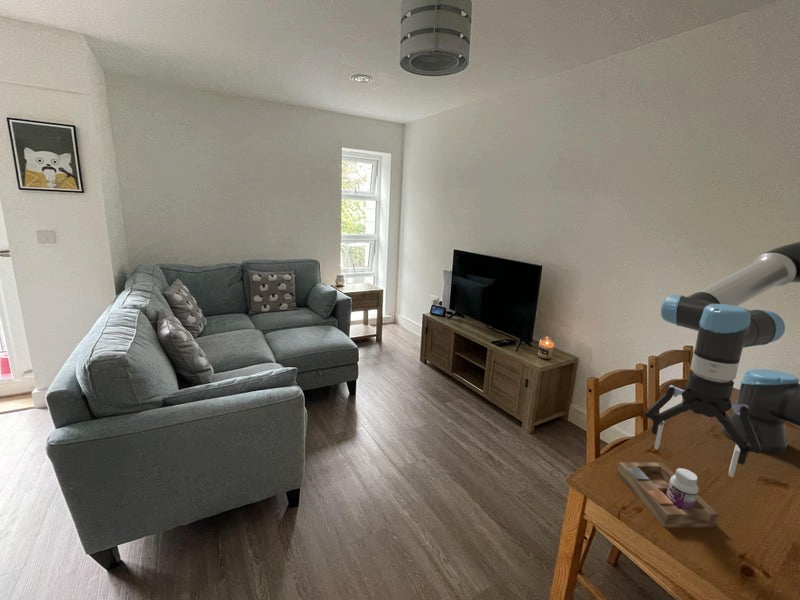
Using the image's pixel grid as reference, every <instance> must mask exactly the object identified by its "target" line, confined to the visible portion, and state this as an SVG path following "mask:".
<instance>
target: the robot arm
mask: <svg viewBox="0 0 800 600" xmlns="http://www.w3.org/2000/svg"><path fill="white" fill-rule="evenodd" d="M790 283H800V241H798V242H792V243H788V244H786V245H782V246H778V247H776V248H773V249H770V250H768V251H766V252H764V253H762V254H760V255H758V256H756V257H755V258H754V260H753V261H752V263H751V264H749V265H747V266H745V267H743V268H741V269H739V270H737V271H735V272H734V273H731V274H729V275H727V276H725V277H723V278H722V279H719V280H718V281H715V282H714V283H712V284H710V285H708V286H706V287H704V288H702V289H700V290H698V291H696V292H695V293H692V294H690V295H689V296H684V295H683V294H682V295H681V294H680V295H678V294H671V295H668V296H667V297H666V298H665V299H664V300H663V302H662V304H661V307H660V316H661V317H662V319H663V320H664V321H665V322H667V323H670V324H673V325H676V326H677V327H682V328H686V329H690V330H693V331H697V336H696V342H695V348H694V351H693V353H692V359H691V364H690V370H691V371H689V374H688V377H687V382H686V386H685V388H684V389H683V388H680V387H677V386H676V385H675V384H673V383H672V384H671V383H670V385H669V387H668V388H667V390H666V392H665V393H664V394H663V395H662V396H661V397H660V398H659V399H657V401H656V402H655V403H654V404H653V405H652V406H651V407H649V408H648V409H647V410H646V413H645V418H647V419H649V420H652V428H651V433H652V434H653V435H656V437H655V443H654V448H653V449H654V450H659V447H660V446H661V440H662V435H663V431H664V425H665V421H667V420H669V419H671V418H673V417H675V416H678V415H680V414H682V413H686V412H687V411H692V412H693V413H694V414H698V415H702V416H705V417H708V418H711V419H712V418H716V419H717V421H718V422H719V423H720V424H721V431H722V433H723V434H724V435H725V436H726V437H728V438H729V439H731V440H732V441H734V442H735V446H734V449H733V454H732V458H731V461H730V465H729V468H728V477H731V478H734V476H735V473H736V469H737V465H738V464H739V465H744V464H745V463H746V460H747V457H748V454H749V453H750V452H751V453H755V454H761V453H762V452H763V453H768V454H770V453H771V454H783V453H784V452H786V451H787V447H788V441H787V436H786V435H787V433H786V427H785V426H786V422H788V423H790V424H792V425H795V426H797V427H800V379H799V377H798V376H796V375H794V374H791V373H789V372H783V371H779V370H772V369H764V368H753V369H748V370H746V371H745V372H744V375H743V378H742V380H741V381H740V387H739V390H738V395H737V398H736V402H731V396H732V394H733V390H734V389H733V388H734V384H735V382H734V380H735V379H736V376H737V372H738V369H739V365H740V361H741V355H742V352H743V350H744V348H748V347H750V348H751V347H756V346H763V345H764V346H765V345H768V344H770V343H773V342H776V341H778V340H780V339H781V338H782V337H783V335H784V333H785V332H786V325H785V322H784V320H783V318H782V317H781V316H780V315H779V314H777V313H775V312H773V311H771V310H766V309H752V310H751V309H748V308H745V307H742V306H740V305H741V304H743V303H746V302H747V301H749V300H752V299H753V298H755V297H757V296H758V295H761V294H763V293H764V292H766V291H768V290H769V289H772V288H773V287H782V286H785V285H787V284H790ZM678 396H681V397H682V398H683V401H681V402H680V403H678V404H676V405H674V406H672V407H670V408H667V409H666V410H663V411H662V412H659V413H657V412H658V411H660V410H661V409H662V408H663V407H664V406H665V405H666V404H668V402H669V401H671V400H672V398H673V397H674V398H675V397H678ZM731 409H732V411H731V413H729V415H728V413H727V412H728V411H729V410H731Z"/></svg>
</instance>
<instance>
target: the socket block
mask: <svg viewBox="0 0 800 600" xmlns="http://www.w3.org/2000/svg"><path fill="white" fill-rule="evenodd" d="M616 474H617V475H618V477H620V479H621V480H622V481H623V482H624V483H625V484H626V485H627V487H628V488H629V489H630V490H631V491H632V493H634V495H635V496H636V497H637V498H638V499H639V500H640V502H641V503H642V504H643V505H644V506H645V507H646V508H647V510H648V511H649V512H650V513H651V514H652V516H654V518H656V520H657V521H658V522H659V523H660V524H661V525H662V527H663V528H716V526H717V522H718V519H719V513H718V512H717V511H716V510H715V509H713V507H711V506H710V505H709V504H708V503H707V502H705V500H704V499H703V498H702V497H700V495H698V494H697V498H696V502H695V505H694V509H678V508H677V507H676V506H675V505H674V504H673V502H672V501H671V500H670V499H669V498H668V497H667V496H666V495H667V490H668V486H669V482H670V479H671V477H672V476H674V475H675V473H674V472H673V471H672V470H671V469H670V468H668V466H667V465H665V463H663V462H656V461H655V462H650V461H649V462H643V461H642V462H641V461H640V462H637V461H636V462H634V461H632V462H626V461H624V462H619V463H618V467H617V471H616Z"/></svg>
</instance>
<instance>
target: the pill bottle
mask: <svg viewBox="0 0 800 600" xmlns="http://www.w3.org/2000/svg"><path fill="white" fill-rule="evenodd" d="M674 474H675V475H674V476H672V477H671V479H670V482H669V486H668V490H667V495H666V496H667V497H668V498H669V499H670V500H671V501H672V502H673V504H674V505H675V506H676V507H677V508H678V509H694V505H695V502H696V498H697V495H698V494H699V491H700V490H699V486H698V484H697V483H698V476H697V474H696V473H694V472H692V471H691V470H689V469H686V468H680V467H678V468H677V469H676V470H675V473H674Z"/></svg>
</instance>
